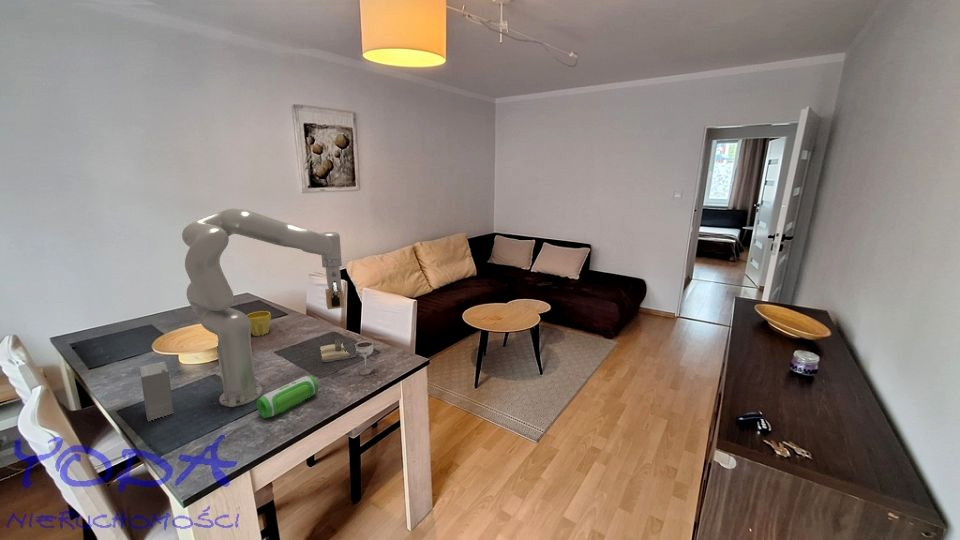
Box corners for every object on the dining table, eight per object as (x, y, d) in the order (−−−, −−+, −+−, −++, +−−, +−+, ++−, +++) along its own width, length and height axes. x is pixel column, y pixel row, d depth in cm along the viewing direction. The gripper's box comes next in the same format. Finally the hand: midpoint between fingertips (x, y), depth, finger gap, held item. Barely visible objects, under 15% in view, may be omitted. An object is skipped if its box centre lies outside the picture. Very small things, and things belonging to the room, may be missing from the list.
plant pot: (251, 330, 183) (248, 311, 181) (274, 328, 186) (272, 310, 184) (245, 338, 174) (242, 319, 171) (270, 336, 177) (267, 317, 174)
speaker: (307, 390, 134) (305, 371, 132) (319, 396, 130) (317, 377, 128) (257, 415, 119) (254, 394, 118) (269, 423, 116) (266, 402, 114)
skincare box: (145, 411, 120) (135, 366, 116) (173, 402, 125) (165, 359, 121) (147, 423, 114) (137, 377, 110) (177, 413, 119) (168, 369, 115)
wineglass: (369, 377, 143) (368, 348, 140) (353, 374, 144) (351, 346, 142) (377, 368, 150) (376, 341, 147) (362, 366, 151) (360, 339, 148)
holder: (357, 357, 159) (357, 344, 157) (322, 363, 153) (321, 350, 151) (353, 344, 171) (352, 331, 170) (320, 349, 165) (319, 337, 163)
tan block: (344, 307, 155) (343, 291, 154) (327, 309, 153) (326, 293, 151) (342, 302, 161) (341, 287, 159) (326, 304, 158) (325, 289, 156)
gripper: (344, 266, 146) (347, 309, 151) (339, 257, 161) (342, 296, 166) (323, 267, 143) (327, 311, 147) (320, 258, 158) (323, 298, 162)
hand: (335, 303), depth 156 cm, fingers closed on tan block, 6 cm apart
